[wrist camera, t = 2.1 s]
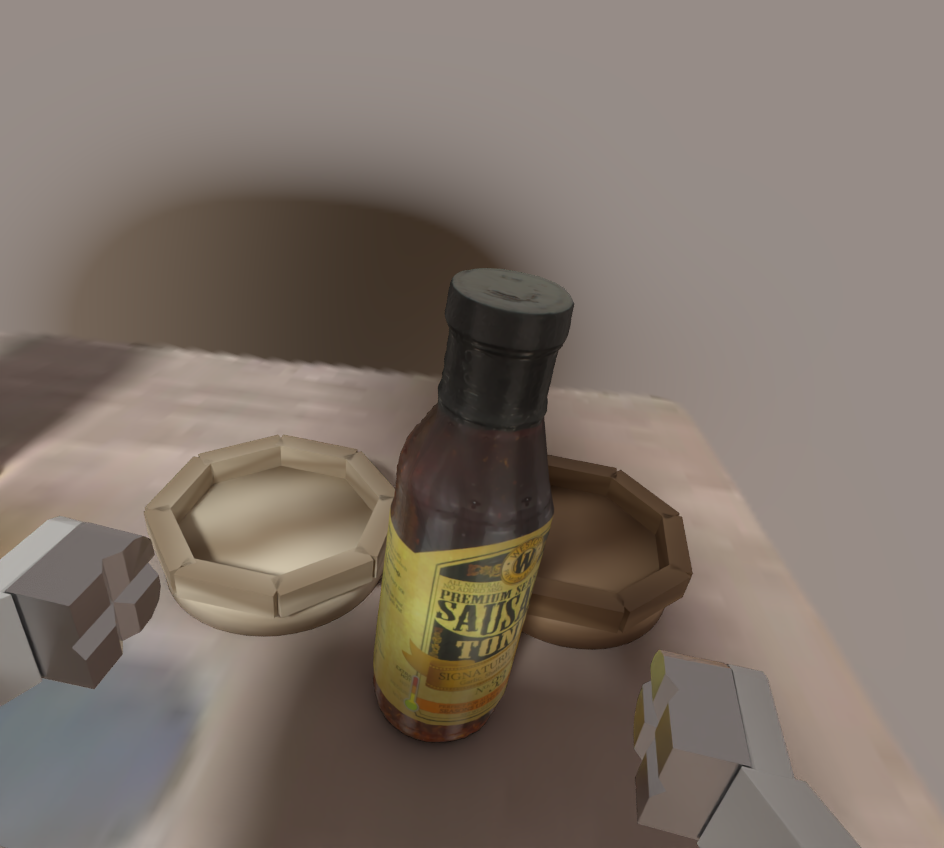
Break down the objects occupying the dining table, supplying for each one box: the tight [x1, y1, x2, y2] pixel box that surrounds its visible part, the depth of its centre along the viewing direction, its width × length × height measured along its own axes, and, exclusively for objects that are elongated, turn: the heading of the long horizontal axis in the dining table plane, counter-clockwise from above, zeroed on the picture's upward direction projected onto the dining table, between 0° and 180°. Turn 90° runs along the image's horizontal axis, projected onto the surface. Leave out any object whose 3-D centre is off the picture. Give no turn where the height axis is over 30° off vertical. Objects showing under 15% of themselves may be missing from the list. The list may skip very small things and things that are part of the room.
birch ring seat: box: [144, 435, 395, 636], centre depth 36 cm, size 12×12×4 cm
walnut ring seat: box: [522, 455, 693, 649], centre depth 37 cm, size 12×12×4 cm
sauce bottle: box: [373, 268, 574, 742], centre depth 25 cm, size 7×6×20 cm
